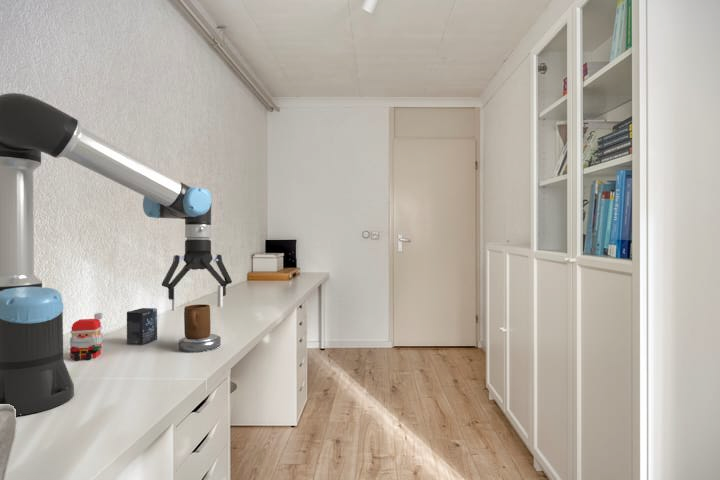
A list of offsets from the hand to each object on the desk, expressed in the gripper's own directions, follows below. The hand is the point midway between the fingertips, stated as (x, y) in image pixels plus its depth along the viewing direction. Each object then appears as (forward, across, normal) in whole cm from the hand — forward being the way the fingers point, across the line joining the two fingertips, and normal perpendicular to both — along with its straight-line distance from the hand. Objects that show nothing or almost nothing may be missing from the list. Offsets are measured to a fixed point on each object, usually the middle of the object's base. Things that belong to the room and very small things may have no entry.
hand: (197, 308), depth 134 cm
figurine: (+13, -28, +9) cm, 32 cm away
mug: (+9, 0, 0) cm, 9 cm away
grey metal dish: (+12, +1, 0) cm, 12 cm away
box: (+12, -12, +19) cm, 26 cm away
